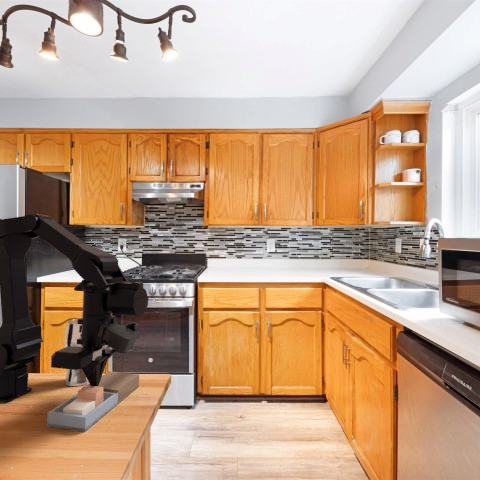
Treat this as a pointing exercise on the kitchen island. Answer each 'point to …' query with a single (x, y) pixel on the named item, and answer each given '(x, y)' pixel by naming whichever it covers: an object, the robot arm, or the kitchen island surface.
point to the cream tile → (80, 407)
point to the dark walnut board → (119, 383)
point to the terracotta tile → (91, 394)
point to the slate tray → (80, 421)
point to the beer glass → (71, 340)
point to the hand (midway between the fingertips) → (94, 387)
